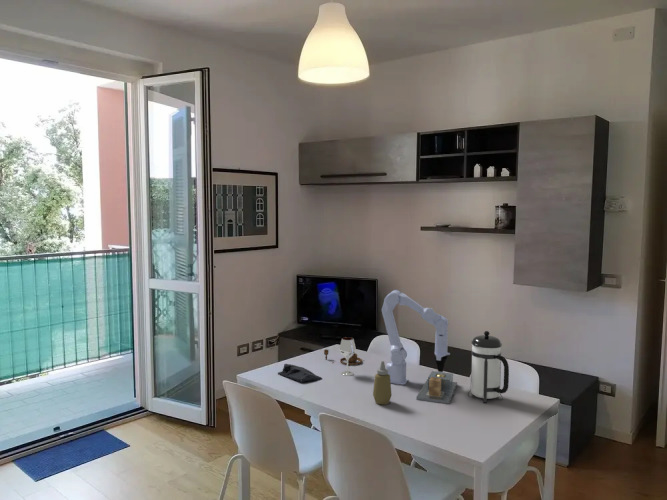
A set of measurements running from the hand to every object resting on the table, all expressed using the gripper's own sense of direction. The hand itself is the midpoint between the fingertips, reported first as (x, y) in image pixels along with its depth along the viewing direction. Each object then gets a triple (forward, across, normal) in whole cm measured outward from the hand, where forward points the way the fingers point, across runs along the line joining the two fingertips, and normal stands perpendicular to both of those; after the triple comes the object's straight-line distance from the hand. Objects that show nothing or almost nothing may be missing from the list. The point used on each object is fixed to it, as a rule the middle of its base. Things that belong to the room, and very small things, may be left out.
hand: (440, 371), depth 235 cm
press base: (+7, -8, 0) cm, 11 cm away
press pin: (+5, 0, 0) cm, 5 cm away
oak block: (+6, -14, 0) cm, 15 cm away
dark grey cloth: (+8, -11, +68) cm, 69 cm away
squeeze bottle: (+7, -30, +20) cm, 37 cm away
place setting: (+8, +22, +56) cm, 60 cm away
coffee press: (+7, -8, -22) cm, 25 cm away
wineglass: (+8, +1, +47) cm, 48 cm away
